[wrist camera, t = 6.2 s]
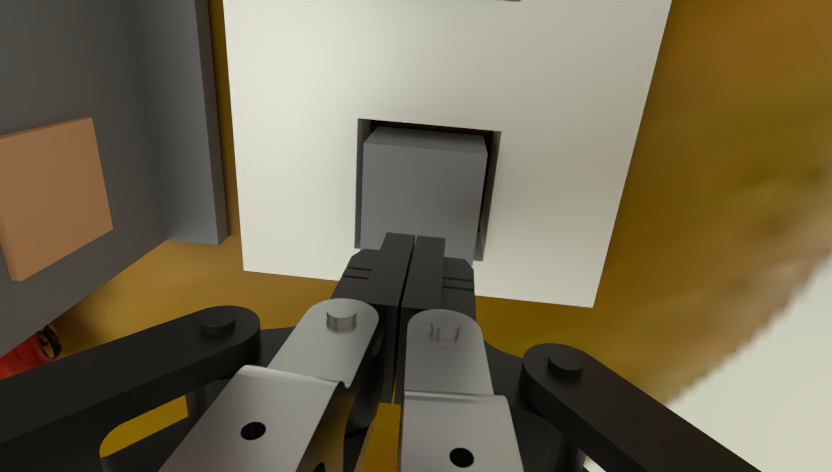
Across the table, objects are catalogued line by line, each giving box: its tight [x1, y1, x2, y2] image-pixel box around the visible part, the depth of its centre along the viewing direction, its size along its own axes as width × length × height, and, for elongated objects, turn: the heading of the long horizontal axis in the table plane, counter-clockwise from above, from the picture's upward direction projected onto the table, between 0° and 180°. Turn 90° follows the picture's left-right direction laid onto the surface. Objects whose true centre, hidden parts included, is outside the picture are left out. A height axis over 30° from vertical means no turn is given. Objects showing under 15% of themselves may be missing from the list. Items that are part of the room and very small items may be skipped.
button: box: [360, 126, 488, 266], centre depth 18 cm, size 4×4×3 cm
